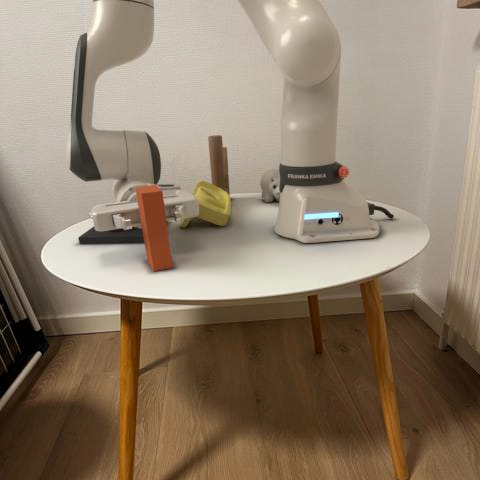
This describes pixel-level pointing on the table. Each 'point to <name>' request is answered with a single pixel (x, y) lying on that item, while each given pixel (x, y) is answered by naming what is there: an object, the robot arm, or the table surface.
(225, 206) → the plastic component
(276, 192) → the round bodied animal figurine
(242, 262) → the table surface
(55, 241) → the table surface
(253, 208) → the table surface
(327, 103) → the robot arm
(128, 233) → the base pad
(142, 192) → the orange rectangular block
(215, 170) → the wooden block
